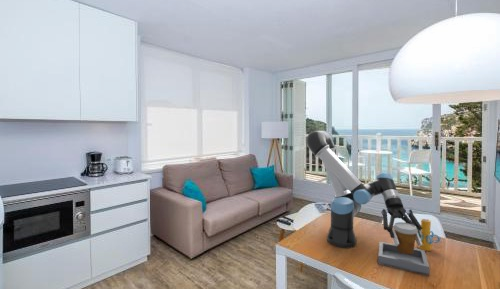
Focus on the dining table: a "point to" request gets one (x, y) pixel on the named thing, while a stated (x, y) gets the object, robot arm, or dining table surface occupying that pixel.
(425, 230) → the yellow post with rings
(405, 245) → the disposable coffee cup
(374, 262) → the dining table surface
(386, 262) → the grey tray
